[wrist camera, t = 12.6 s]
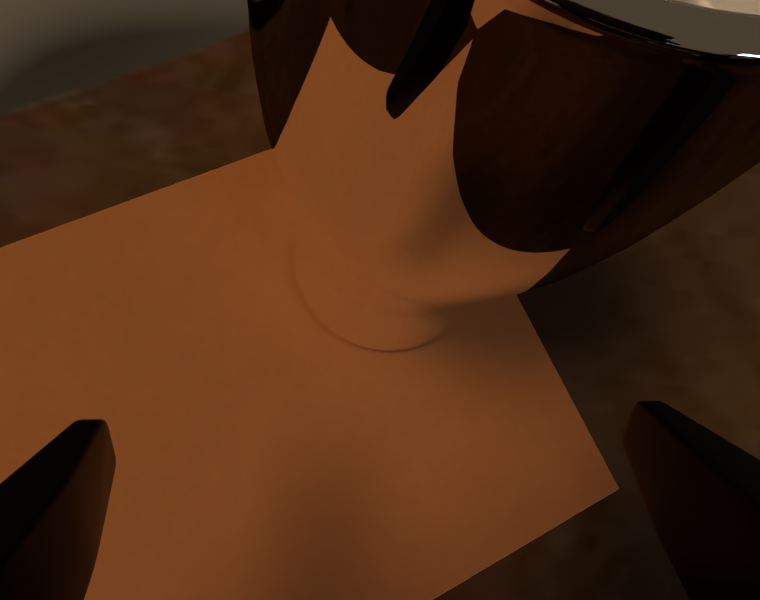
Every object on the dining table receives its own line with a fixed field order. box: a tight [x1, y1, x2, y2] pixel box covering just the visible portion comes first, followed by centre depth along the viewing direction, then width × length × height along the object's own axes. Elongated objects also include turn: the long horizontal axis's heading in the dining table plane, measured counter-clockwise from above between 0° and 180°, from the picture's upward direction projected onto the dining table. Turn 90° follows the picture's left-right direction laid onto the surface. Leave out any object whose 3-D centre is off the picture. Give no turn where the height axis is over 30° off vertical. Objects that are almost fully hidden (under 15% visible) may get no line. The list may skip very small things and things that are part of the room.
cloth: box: [0, 149, 619, 600], centre depth 17 cm, size 20×15×1 cm
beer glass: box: [247, 0, 760, 351], centre depth 11 cm, size 7×7×15 cm
